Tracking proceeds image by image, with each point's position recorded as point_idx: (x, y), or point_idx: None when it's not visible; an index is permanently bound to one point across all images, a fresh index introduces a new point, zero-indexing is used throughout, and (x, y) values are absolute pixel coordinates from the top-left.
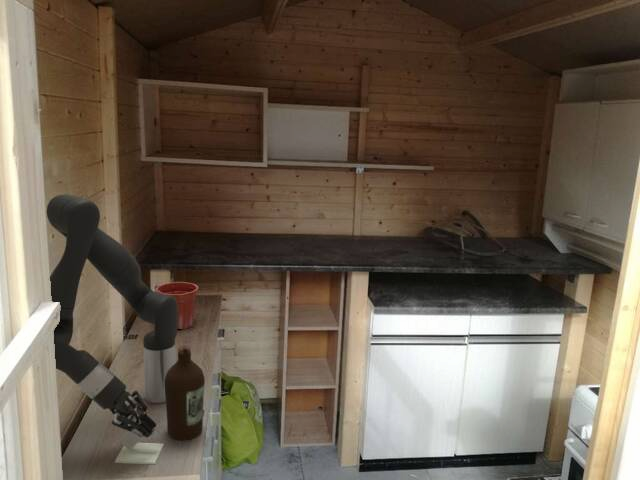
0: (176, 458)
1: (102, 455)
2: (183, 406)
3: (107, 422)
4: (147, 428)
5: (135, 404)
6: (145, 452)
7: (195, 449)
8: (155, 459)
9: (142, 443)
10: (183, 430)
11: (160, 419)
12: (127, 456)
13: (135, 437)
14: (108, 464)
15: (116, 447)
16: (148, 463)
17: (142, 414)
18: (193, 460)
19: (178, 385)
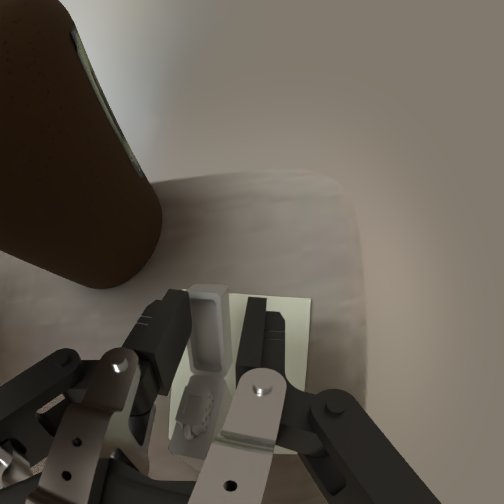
0: (270, 228)
1: None
2: (100, 121)
3: None
4: (263, 325)
5: (89, 471)
6: None
7: (219, 177)
8: (289, 301)
9: (176, 375)
10: (148, 202)
11: (43, 324)
12: None
13: (225, 405)
14: (303, 468)
15: None
16: (308, 325)
17: (138, 384)
18: (280, 175)
19: (19, 30)
